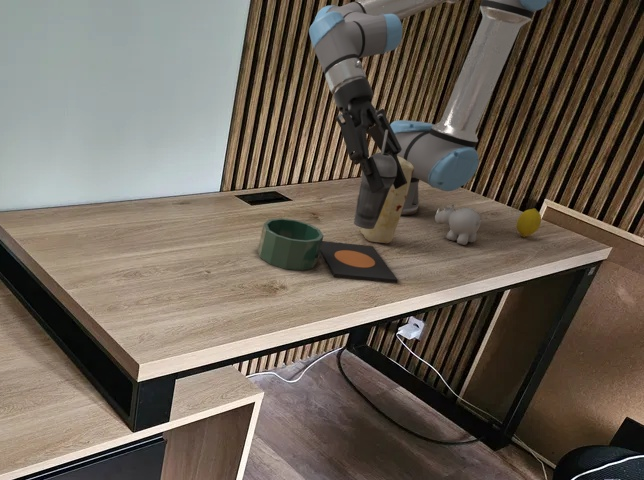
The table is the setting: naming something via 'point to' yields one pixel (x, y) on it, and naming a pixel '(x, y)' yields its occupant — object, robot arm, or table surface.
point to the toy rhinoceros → (460, 223)
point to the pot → (290, 244)
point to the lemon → (528, 222)
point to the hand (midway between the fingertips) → (389, 187)
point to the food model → (390, 209)
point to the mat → (355, 262)
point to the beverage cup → (373, 202)
